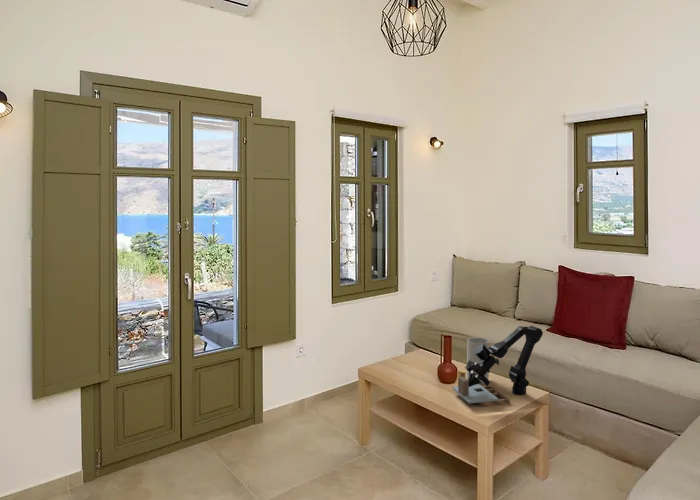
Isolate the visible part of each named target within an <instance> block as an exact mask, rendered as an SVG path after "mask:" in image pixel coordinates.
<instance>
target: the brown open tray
mask: <svg viewBox="0 0 700 500" xmlns="http://www.w3.org/2000/svg"><path fill="white" fill-rule="evenodd" d="M482 386H483V387H484V388H485V389H486V390H488V391H489V392H490V393H492V394H493V395H494V396H496V397H497V398H498V401H488V402H478V403H476V404H477V405H478V406H479V407H481V408H483V407H493V406H504V405H505V406H506V405H510V403H511V401H510V400H511V399H510V398H509V397H507V396H506V395H505V394H503V393H502V392H501V391H499V390H498V389H497V388H495V387H494V386H493V385H490V384H489V385H488V386H486V385H482ZM475 391H477V392H480V391H482V390H475Z"/></svg>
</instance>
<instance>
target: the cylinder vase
mask: <svg viewBox="0 0 700 500" xmlns="http://www.w3.org/2000/svg"><path fill="white" fill-rule="evenodd" d="M466 343H467V344H466V346H467V347H466V364H467V363H468V361H469V360H470V361H472V362H476V363H478V362H480V363H481V362H482V361H483V360H480V359H479V357H478V356H477V355H476V354H475V353H474V349H475V348H476V347H477V346H479V345H481V344H483V345H485V346H486V348H489V347H490V340H489V339H487V338H484V337H469V338H467V341H466ZM489 373H490V372H487V373H486V374H485V375H484V376H485V377H486V378H487V379H488V380H489V378H490V377H489ZM466 379H467V380H468V379H469V371H468V370H467V369H466ZM489 381H490V380H489ZM479 384H480V385H481V384H484V382H483V381H481V383H479ZM479 384H478V385H479Z"/></svg>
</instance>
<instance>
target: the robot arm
mask: <svg viewBox="0 0 700 500" xmlns="http://www.w3.org/2000/svg"><path fill="white" fill-rule="evenodd" d="M543 333H544V332H543V330H542V328H541V327H540V328H539V327H537V326H534V325H529V326H521V325H519V326H517V327H516V329H515V330H513V331H512V332H511V333H510V334H509V335H508V336H506V337H505V338H504V339H502V340H501V341H499V342H496V343H494V344H493V345H491V346H489V348H486V346H485V345H483V344H481V345H479V346H477V347H476V348H475V349H474V353H475V354H476V355H477V356H478V357H479V359H480V360H483V361H482V362H481V363H480V362H478V363H476V362H472V361H470V360H469V361H468V363H467V362H466V366H465V367H464V369H465V370H466V371H467V370H468V371H469V379H468V381H469V387H470V386H473V385H479V383H481V381H483V382H484V383H483V384H484V386H490V384H491V380H488V379H487V378H486V377H485V376H484V375H485V374H486V373H487V372H489V373H490V372H491V371H490V370H491V369H492V368H493V366H495V364H496V365H498V366H499V365H500V359H502V358H504V357H505V356H506V354H507V353H508V350H509V349H510V347H512V346H513V345H514V344H515V343H517V341H519V340H520V339H521V338H522V337H523V336H524V335H525V342H524V345H523V347H522V350H521V352H520V355H519V358H518V360H517V362H516V364H515V365H513V366H512V365H511V366H510V369H509V371H508V377H509V379H510V381H511V383H512V387H511V388H512V389H511V391H512V392H511V393H512V394H513V395H516V396H524V395H526V394H527V387H528V386H529V384H530V382H529V381H528V380H527V379H526V376H527V372H526V371H527V370H526V369H527V365H528V363H529V361H530V357H531V355H532V353H533V351H534V348H535V345H536V344H538V343H539V342H540V340H541V338H542V337H543V335H544V334H543Z"/></svg>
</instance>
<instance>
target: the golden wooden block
mask: <svg viewBox="0 0 700 500" xmlns="http://www.w3.org/2000/svg"><path fill="white" fill-rule="evenodd" d="M459 377H464V378H467V371H465V370H457V380H458V379H459Z"/></svg>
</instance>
